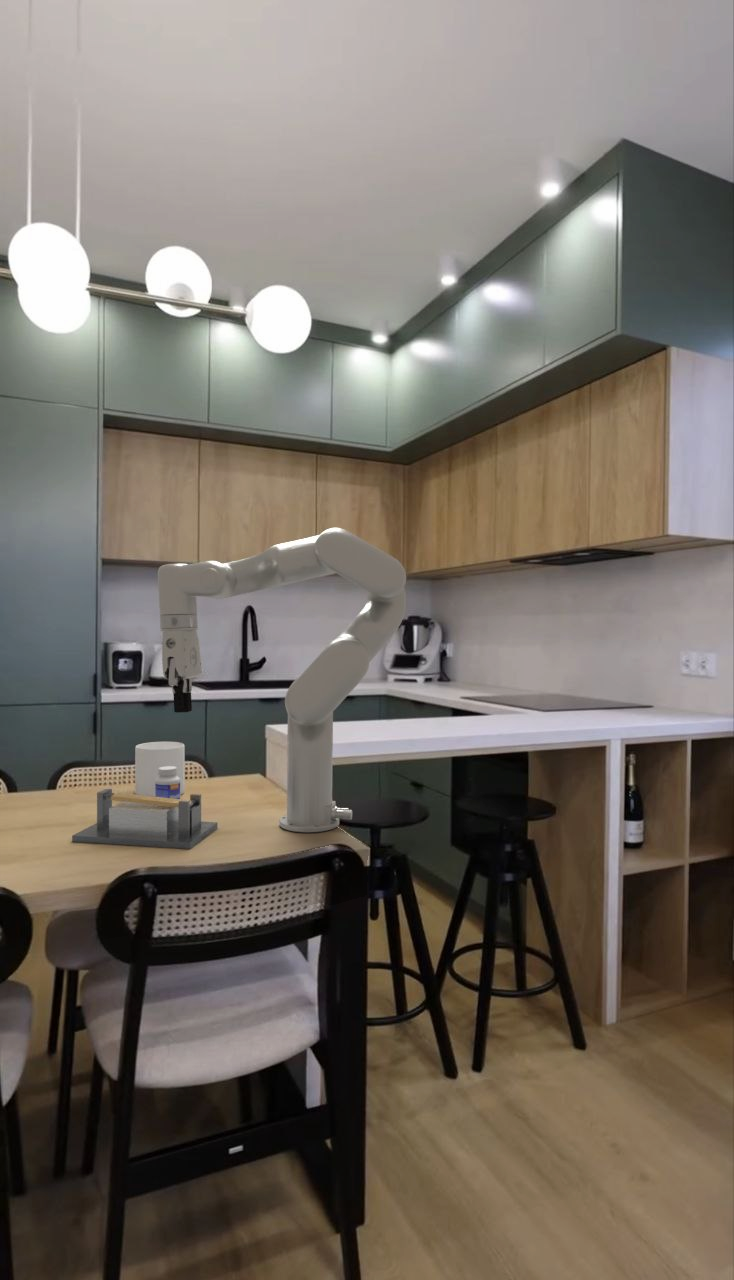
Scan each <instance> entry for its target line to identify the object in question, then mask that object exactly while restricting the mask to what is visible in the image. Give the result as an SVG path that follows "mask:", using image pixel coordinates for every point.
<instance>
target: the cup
mask: <svg viewBox="0 0 734 1280" xmlns="http://www.w3.org/2000/svg"><path fill="white" fill-rule="evenodd" d="M185 747H186V746H185V744H184V743H183V742H178V741H151V742H144V743H140V744H137V745H135V748H134V750H135V752H134V753H135V754H134V757H135V760H134V765H135V766H134V769H135V771H134V775H135V777H134V781H135V782H134V784H135V785H134V790H135V794H136V795H145V796H155V781H156V779H157V778H158V777H160V775H159V773H158V771H159V768H160V767H166V766H174V767H177V774H176V776H178V777H179V778H180V796H182V795H183V794H184V793H185V774H186V773H185V765H186V763H185V752H186V751H185Z"/></svg>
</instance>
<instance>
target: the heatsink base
mask: <svg viewBox="0 0 734 1280" xmlns="http://www.w3.org/2000/svg"><path fill="white" fill-rule="evenodd" d="M112 795H115V792H113V789H112V788H105V789H103V790H100V791H97V792H96V823H94V824H92V825H90V826H88V827H86V828H84V829H82V830H80V831H78V832H76V833H75V834H72V835H71V842H72V843H85V844H86V843H87V844H89V843H90V844H100V845H101V844H103V845H117V846H118V845H121V846H135V847H148V848H150V847H152V848H168V849H169V848H170V849H181V850H182V849H184V850H192V849H193V847H195V846H196V845H198V844H199V843H200V842H201V841H203V840H204V839H205V838H207V837H208V836H209V835H211V834H212V833H213V832H215V831H216V830H217V829H218V827H219V826H218V824H219V823H218V822H216V821H215V822H213V821H202V794H197V793H191V794H190V796H189V800H196V804H195V805H193V806H191V807H190V801H179V804H178V807H169V806H160V805H151V804H142V803H133V802H124V801H120V802H119V803H117V804H115V805H113V800H111V796H112ZM215 829H216V830H215ZM210 833H211V834H210ZM206 836H207V837H206Z"/></svg>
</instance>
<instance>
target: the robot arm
mask: <svg viewBox="0 0 734 1280" xmlns="http://www.w3.org/2000/svg"><path fill="white" fill-rule="evenodd" d="M335 574H337V575H339V576H340V577H342V578H343V579H345V580H347V581H348V582H350V583H352V584H353V585H356V586H358V587H359V588H361V589H363V590H365V592H366V596H367V598H366V602H365V605H364V606H363V608H362V609H361V610H360V612H358V614H357V615H356V616H355V617H354V618H353V620H352V621H351V622H350V623H349V624H348V626H347V627H346V628H345V629H344V630H343V631H342V632H341V633H340V634H339V635H338V636H337V637H336V638H335V639H332V640H331V641H330V642H329V643H328V644H327V646H325V648H324V649H323V650H322V651H321V653H320V654H319V655H318V656H317V657H316V658H315V659H314V660H313V661H312V662H311V664H310V665H309V666H307V668H306V669H305V670H304V671H303V672H302V674H301V675H300V676H299V677H297V678H296V679H295V680H294V681H293V682H292V683H290V686H289V687H288V689H287V691H286V694H285V698H284V705H285V709H286V712H287V735H286V736H287V741H286V742H287V744H286V745H287V746H286V747H287V751H286V814H284V815H283V816H281V817H280V818H279V821H278V822H279V826H280V827H281V828H282V829H284V830H287V831H290V832H296V833H321V832H325V831H330V830H334V829H335V828H337V827H339V825H340V819H342V820H352V819H353V810H352V809H349V807H338V806H337V804H336V803H337V802H336V800H333V749H334V747H333V743H334V741H333V740H334V739H333V738H334V711H335V710H337V708H338V707H339V706H340V705H341V703H342V702H343V701H344V700H346V698H347V697H348V696H349V695H350V694H351V692H353V691H354V689H355V688H357V686H358V684H360V682H361V681H362V680H363V679H364V677H365V676H366V674H367V673H368V670H369V667H370V663H371V661H372V660H373V659H374V658H375V657H376V656H377V655H378V653H380V651H382V649H383V648H384V646H385V645H386V644H387V643H388V642H389V640H390V639H392V637H393V636H394V634H396V632H397V630H398V629H399V627H400V626H401V624H402V622H403V619H404V616H405V612H406V606H407V595H406V589H405V586H406V581H407V573H406V570H405V568H404V566H403V564H402V563H401V562H400V560H398V559H396V558H395V557H393V556H392V555H390V554H388V553H387V552H385V551H383V550H381V549H380V548H377V547H376V546H374V545H372V544H370V543H369V542H367V541H366V540H363V539H362V538H360V537H359V536H357V535H355V534H354V533H352V532H350V531H348V530H347V529H344V528H341V527H331V528H328V529H325V530H324V531H322V532H321V533H320V534H319V535H318V534H317V535H314V536H309V537H306V538H302V539H297V540H296V539H295V540H292V541H287V542H283V543H279V544H275V545H272V546H270V547H269V548H267V549H265V550H263V551H262V552H261V553H259V554H256V555H253V556H250V557H247V558H243V559H238V560H234V561H229V562H225V563H221V562H219V561H216V560H206V561H201V562H195V563H168V564H163V565H161V566H159V568H158V570H157V583H158V585H157V586H158V587H157V588H158V602H159V603H158V605H159V624H160V627H159V628H160V632H162V641H161V642H162V644H161V649H162V650H161V658H162V659H161V661H162V663H161V664H162V674H163V678H165V679H166V680H168V685H169V686H170V687H171V690H172V694H173V710H174V712H175V713H177V714H178V713H189V712H191V711H192V710H193V705H192V687H193V686H192V683H193V682H194V680H195V678H197V677H199V676H200V675H201V674H202V660H201V650H200V642H199V637H198V630H199V628H198V624H199V623H198V610H197V609H198V607H197V606H198V604H197V597H200V598H201V597H202V598H209V599H216V600H223V599H228V598H233V597H238V596H241V595H245V594H250V593H254V592H258V591H262V590H265V589H273V588H278V587H282V586H286V585H291V584H294V583H299V582H303V581H307V580H311V579H316V578H322V577H326V576H330V575H335Z"/></svg>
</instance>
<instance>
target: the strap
mask: <svg viewBox="0 0 734 1280" xmlns="http://www.w3.org/2000/svg"><path fill="white" fill-rule="evenodd" d="M111 800H112V801H115V802H123V801H124V802H133V803H142V804H151V805H160V806H169V807H178V804H179V801H190V807H191V806H193V805H195V804H196V800H190V799H189V800H188V799H181V798H180V799H173V798H164V797H155V796H145V795H136V794H134V793H128V792H127V793H124V792H117V793H114V795H112V796H111Z"/></svg>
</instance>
